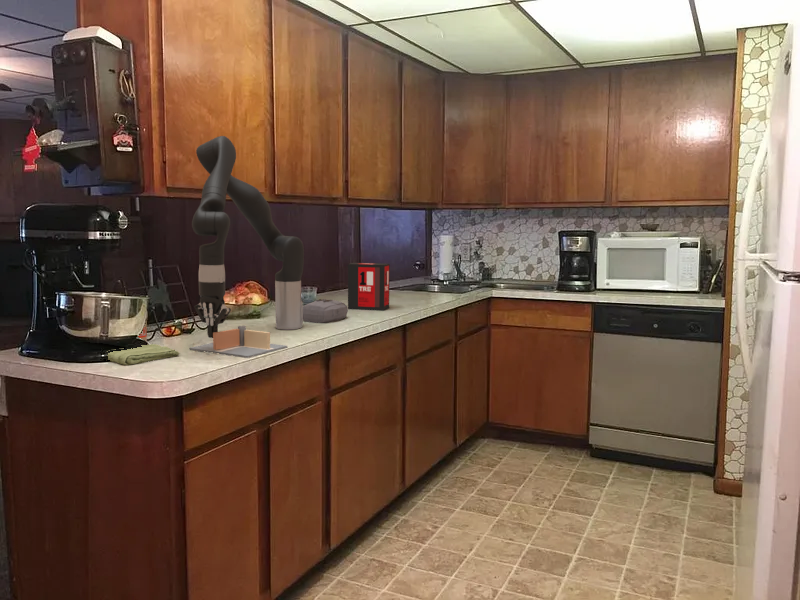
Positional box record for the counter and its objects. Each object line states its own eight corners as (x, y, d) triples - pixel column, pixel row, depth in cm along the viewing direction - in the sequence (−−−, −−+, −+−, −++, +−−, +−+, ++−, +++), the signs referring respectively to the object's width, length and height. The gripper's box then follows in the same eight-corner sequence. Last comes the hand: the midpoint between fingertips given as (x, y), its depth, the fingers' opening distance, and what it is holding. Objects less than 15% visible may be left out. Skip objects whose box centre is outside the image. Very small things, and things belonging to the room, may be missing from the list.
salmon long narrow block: (236, 344, 201) (236, 328, 200) (239, 345, 200) (239, 329, 200) (213, 349, 194) (212, 332, 193) (216, 349, 193) (215, 333, 192)
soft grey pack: (327, 324, 248) (355, 318, 265) (327, 302, 246) (355, 297, 264) (295, 321, 255) (324, 315, 272) (295, 300, 253) (324, 295, 271)
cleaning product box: (389, 308, 294) (389, 263, 292) (384, 310, 285) (384, 265, 283) (354, 306, 298) (354, 262, 295) (347, 309, 289) (348, 264, 287)
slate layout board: (230, 340, 213) (230, 320, 212) (287, 347, 203) (287, 326, 202) (189, 349, 198) (188, 328, 197) (248, 357, 187) (247, 335, 186)
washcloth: (182, 357, 189) (182, 346, 189) (126, 368, 175) (125, 356, 174) (154, 351, 196) (154, 340, 196) (99, 361, 182) (98, 350, 182)
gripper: (186, 279, 193) (187, 336, 195) (219, 282, 187) (220, 342, 189) (204, 277, 199) (205, 333, 202) (237, 280, 193) (238, 338, 196)
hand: (212, 337), depth 195 cm, fingers closed
